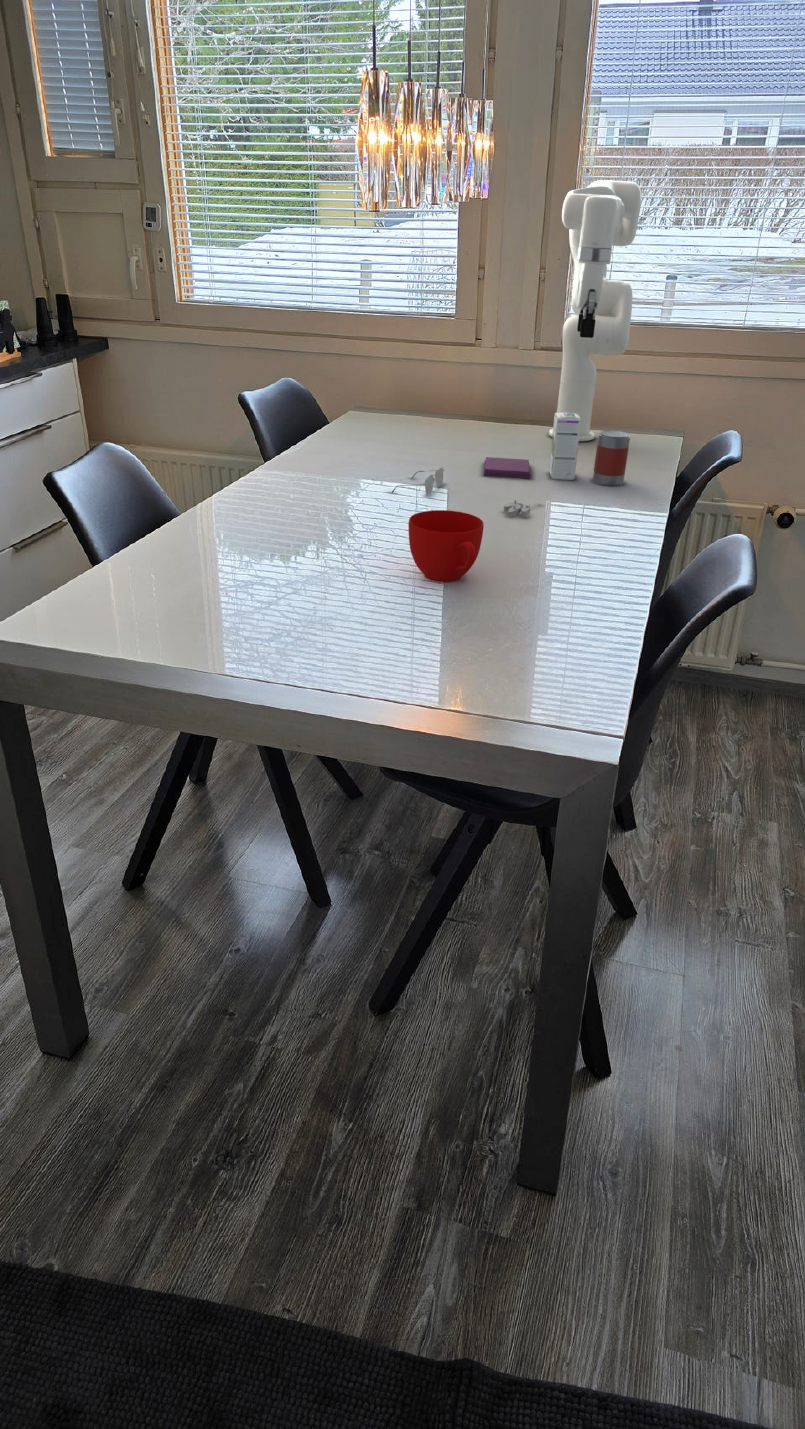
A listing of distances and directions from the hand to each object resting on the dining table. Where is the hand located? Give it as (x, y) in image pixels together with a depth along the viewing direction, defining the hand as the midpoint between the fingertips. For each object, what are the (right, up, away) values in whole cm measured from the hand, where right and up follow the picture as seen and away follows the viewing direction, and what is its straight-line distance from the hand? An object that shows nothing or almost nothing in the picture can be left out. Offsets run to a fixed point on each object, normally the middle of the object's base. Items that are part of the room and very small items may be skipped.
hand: (585, 334), depth 240 cm
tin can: (+5, -36, -2) cm, 36 cm away
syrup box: (-6, -34, +1) cm, 35 cm away
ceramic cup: (-36, -68, -64) cm, 100 cm away
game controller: (-18, -48, -26) cm, 57 cm away
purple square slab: (-18, -32, +3) cm, 37 cm away
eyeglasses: (-40, -40, -13) cm, 58 cm away
